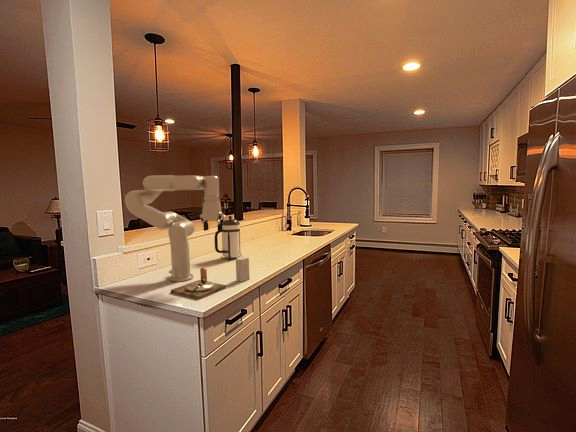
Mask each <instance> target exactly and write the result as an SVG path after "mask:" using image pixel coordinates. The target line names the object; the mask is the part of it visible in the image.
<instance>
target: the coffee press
mask: <svg viewBox="0 0 576 432" xmlns="http://www.w3.org/2000/svg"><path fill="white" fill-rule="evenodd" d="M240 227H241V223H240V221H239V220H238V219H236V218H235V219H234V218H233V217H232V215H229V216H228V218H227V219H225V221H224V222H223V224H222V228H223V229H222V231H220V232H218V230H217V231H216V232H215V233H214V250H215V251H216V252H217V253H218V254H222V255H221V257H220V259H224V258H227V259H228V261H231V259H232V258H233V259H234V258H237V257H238V258H241V257H243V255H242V254H241V232H240V231H241V230H240V229H241V228H240ZM220 233H221V242H222V243H221V244H222V245H221V247H222V248H221V250H219V245H218V244H219V243H218V242H219V241H218V236H219V234H220Z"/></svg>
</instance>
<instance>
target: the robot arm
mask: <svg viewBox="0 0 576 432" xmlns="http://www.w3.org/2000/svg"><path fill="white" fill-rule="evenodd" d="M219 182H220V181H219V177H218V176H217V175H206V176H204V175H203V176H202V175H194V174H193V175H191V174H190V175H187V174H186V175H174V174H165V175H162V174H161V175H160V174H159V175H157V174H156V175H148V176H145V178H144V179H143V180H142V186H143V188H144V189H138V190H137V189H136V190H131V191H129V192H128V193H126V194H125V198H124V203H125V207H126V208H127V210H128V211H129V212H130V213H131V214H132V215H133V216H135V217H137V218H139V219H140V220H141V221H142V220H143V221H144V222H146V223H147V224H149V225H151V226H153V227H155V228H156V229H159V230H168V232H167V233H168V237H169V239H168V240H169V244H170V256H171V257H170V260H171V269H170V270H169V271H168V274H170V276H169V279H168V280H169V281H171V282H176V283H177V282H178V283H179V282H185V281H190V280H192V279H193V278H194V274H192V273H191V261H190V244H189V240H188V237H190V236H192V235H193V233H194V232H195V226H194V223H193V222H192V221H191V220H189V219H188V218H186V217H184V216H182V215H180V214H178V213H176V212H174V211H170V210H169V211H160V210H159V209H157V208H155V207H153V206H151V205H150V204H151V203H153V202H154V201H155V200H156V199H157V198H158V197H159V196H160V195H161V194H162V193H163V192H175V191H201V190H202V191H203V190H204V197H203V200H204V201H203V202H202V203H203V204H202V213H201V214H199V218H200V221H201V222H202V224H203V231H204V232H205V231H209V221H213V222H215V221H216V222H217V231H218V232H220V231H222V229H223V228H222V224H223V222H224V221H225V220H226V218H227V216H226V215H225V214H224V213H223V211H222V205H221V201H220V187H219V186H220V185H219V184H220V183H219ZM220 233H221V232H220Z"/></svg>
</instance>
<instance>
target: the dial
mask: <svg viewBox="0 0 576 432" xmlns="http://www.w3.org/2000/svg"><path fill="white" fill-rule="evenodd" d="M199 270H200V272H199V274H200V280H201V281H199V282H194V281H193V282H194V283H192V282H189V283H190V284H189V283H187V284H188V285H187V286H186V289H187V290H188V291H192V292H200V291H206V290H210V289H212V288H213V287H214V283H215V282H213V281H208V274H207V267H201V268H200V269H199Z"/></svg>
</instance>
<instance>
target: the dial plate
mask: <svg viewBox="0 0 576 432" xmlns="http://www.w3.org/2000/svg"><path fill="white" fill-rule="evenodd" d="M199 281H201V279H198V280H194V281H193V282H189V283H186V284H183V285H180V286H177V287H175V288H172V289H170V294H174V295H177V296H183V297H185V298H186V297H187V298H191V299H196V300H202V299H203V298H207V297H208V296H211V295H213V294H216V293H218V292H222V291H223V290H225V289H227V285H226V284H221V283H216V282H213V283H214V287H213V288H212V289H210V290H206V291H200V292H192V291H188V290H187V289H186V286H187V285H188V284H190V283H194V282H199Z"/></svg>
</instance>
